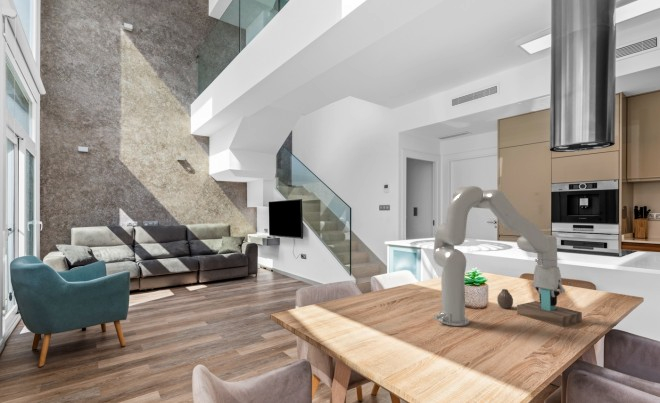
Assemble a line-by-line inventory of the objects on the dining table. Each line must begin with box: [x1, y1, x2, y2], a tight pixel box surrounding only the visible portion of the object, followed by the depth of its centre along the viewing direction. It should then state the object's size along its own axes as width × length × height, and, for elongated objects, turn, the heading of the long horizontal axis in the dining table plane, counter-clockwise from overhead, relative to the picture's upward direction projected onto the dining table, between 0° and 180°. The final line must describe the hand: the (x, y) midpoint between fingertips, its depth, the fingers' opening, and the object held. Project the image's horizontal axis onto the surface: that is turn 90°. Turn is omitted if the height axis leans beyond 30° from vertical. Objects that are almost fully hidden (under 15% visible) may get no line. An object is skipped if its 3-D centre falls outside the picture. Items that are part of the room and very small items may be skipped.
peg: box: [541, 288, 557, 311], centre depth 153 cm, size 4×4×12 cm
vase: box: [496, 288, 514, 310], centre depth 168 cm, size 7×7×9 cm
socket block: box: [516, 300, 583, 328], centre depth 153 cm, size 14×20×4 cm
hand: (548, 303), depth 153 cm, fingers closed on peg, 4 cm apart
